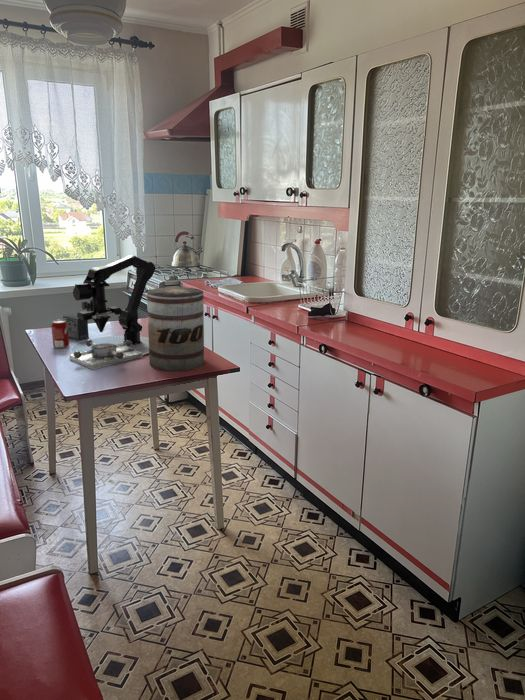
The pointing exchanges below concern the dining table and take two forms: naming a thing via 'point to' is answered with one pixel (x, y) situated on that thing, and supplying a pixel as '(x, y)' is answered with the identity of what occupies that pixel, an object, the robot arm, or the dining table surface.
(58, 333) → the soda can
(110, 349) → the capstan
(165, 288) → the barrel
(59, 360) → the dining table surface
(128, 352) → the stand
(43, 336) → the dining table surface
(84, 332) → the small box
